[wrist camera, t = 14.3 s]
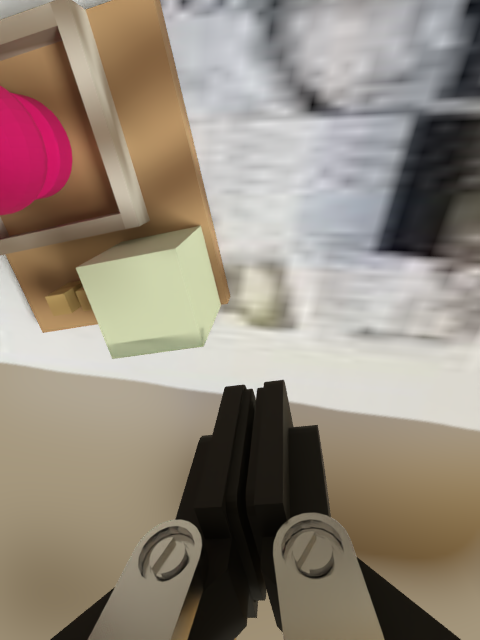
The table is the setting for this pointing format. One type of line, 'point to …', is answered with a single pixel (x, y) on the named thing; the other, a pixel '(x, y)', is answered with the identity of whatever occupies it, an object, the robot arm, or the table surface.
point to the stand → (101, 147)
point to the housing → (153, 293)
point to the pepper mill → (30, 152)
